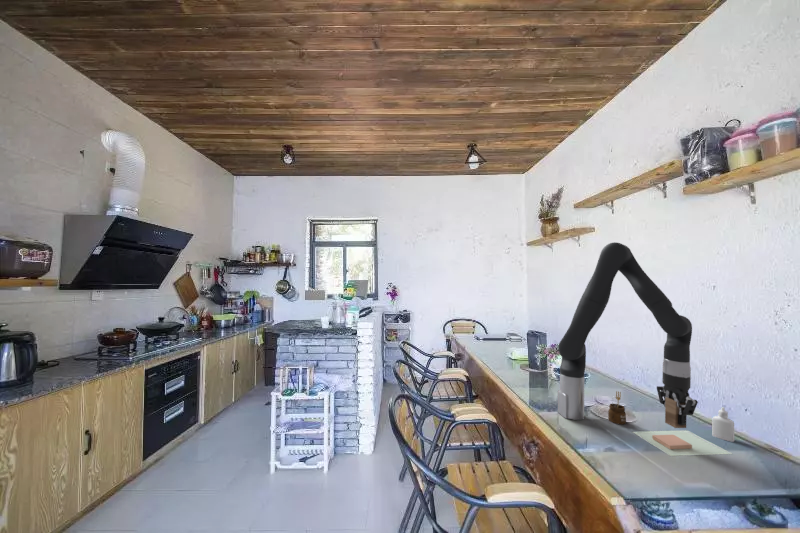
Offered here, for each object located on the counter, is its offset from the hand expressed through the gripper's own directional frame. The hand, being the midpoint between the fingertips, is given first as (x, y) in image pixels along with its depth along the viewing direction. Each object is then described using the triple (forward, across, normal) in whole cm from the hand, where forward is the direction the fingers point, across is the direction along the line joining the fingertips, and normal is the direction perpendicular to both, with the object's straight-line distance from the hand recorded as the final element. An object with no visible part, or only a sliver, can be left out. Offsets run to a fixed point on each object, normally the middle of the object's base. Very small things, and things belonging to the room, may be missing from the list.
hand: (675, 421), depth 115 cm
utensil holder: (+9, -18, -8) cm, 21 cm away
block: (+1, 0, 0) cm, 1 cm away
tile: (+7, 0, +2) cm, 7 cm away
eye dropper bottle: (+9, -3, +21) cm, 23 cm away
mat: (+9, -1, +2) cm, 9 cm away
